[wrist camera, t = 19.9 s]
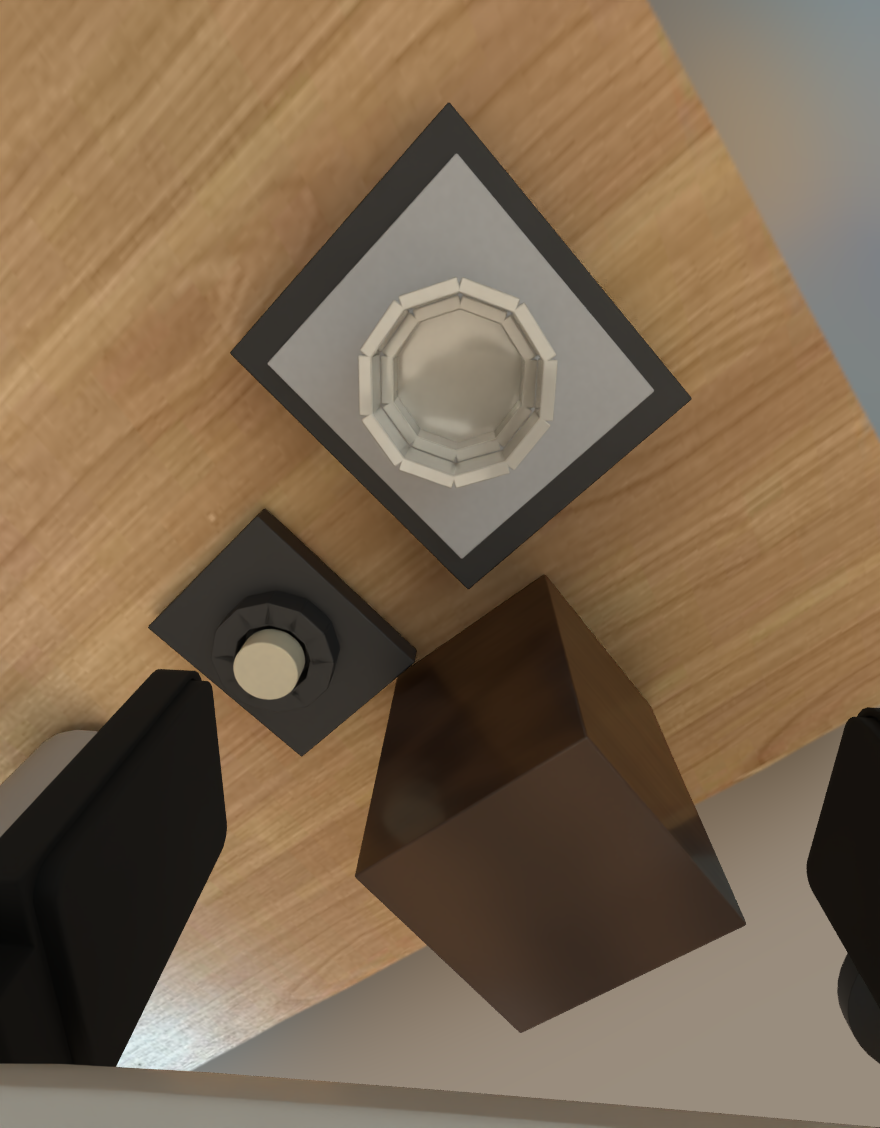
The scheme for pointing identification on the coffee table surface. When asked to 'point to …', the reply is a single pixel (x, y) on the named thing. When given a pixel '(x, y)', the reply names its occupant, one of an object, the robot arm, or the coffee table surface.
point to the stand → (538, 817)
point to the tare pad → (298, 607)
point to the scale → (460, 249)
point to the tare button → (269, 664)
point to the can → (38, 773)
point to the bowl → (457, 382)
